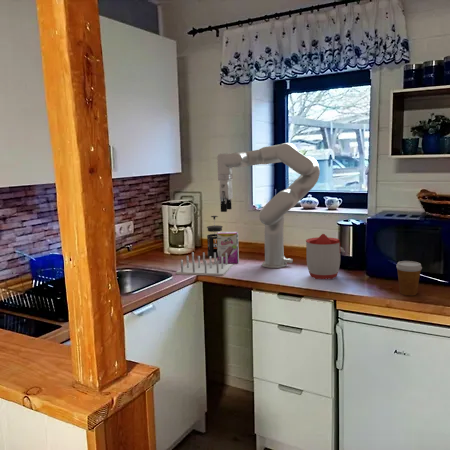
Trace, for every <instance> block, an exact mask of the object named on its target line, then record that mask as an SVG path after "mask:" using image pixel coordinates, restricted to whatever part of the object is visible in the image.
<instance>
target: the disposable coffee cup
mask: <svg viewBox="0 0 450 450" xmlns="http://www.w3.org/2000/svg"><path fill="white" fill-rule="evenodd" d="M396 269H397V280H398V285H399V286H398V287H399V293H400V294H401V295H404V296H415V295H417V294H418V288H419V283H420V277H421V272H422V269H423V267H422V264H421V263H420V262H417V261H412V260H411V261H410V260H402V261H398V262H397V264H396Z"/></svg>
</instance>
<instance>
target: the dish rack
mask: <svg viewBox="0 0 450 450" xmlns="http://www.w3.org/2000/svg"><path fill="white" fill-rule="evenodd" d="M208 258H209V259H208V261H209V263H208V262H207V260H206V253H205V252H202V261H203V262H202V263H201V256H200V255H197V262H195V253H194V252H193V251H192V252H191V262H189V260H190V259H189V255H186V264H185V265H184V263H183V262H184V260H183V259H180V268H179V269H178V270H176V271H175V275H191V276H213V277H214V276H216V277H217V276H218V277H224V276H225V275H226V274H227V273H228V272H229V271H230V269H232V268H233V266H234V264H228V262H227V253H225V260H226V264H223V257H221V264H219V262H218V261H217V258H216V253H214V258H213V260H214V261H213V262H214V263H212V258H211V256H209V257H208Z"/></svg>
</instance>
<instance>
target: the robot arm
mask: <svg viewBox="0 0 450 450" xmlns="http://www.w3.org/2000/svg"><path fill="white" fill-rule="evenodd" d="M216 159H217V162H216V163H217V181H218V182H219V200H220V204H219V205H220V212H221V213H227V212H228V210H232V208H233V207H232V200H233V197H234V192H233V180H234V179H233V168H236V169H237V168H245V167H251V166H256V165H258V166H259V165H270V164H276V163H283V164H284V165H286V166H287V167H289V168H290V169H291V170H292V171H294V172H296V173H297V174H298V175H299V177H297V178H296V179H295V180H294V181H293V182H292V183H291V184H290V185H289V186H288V187H286V188H285V189H283V190H280V191H279V192H278V193H277V194H275V195H273V197H272V198H271V199H270V200H269V201H268V202H267V203H266V204H264V206H263V207H262V208H261V209H260V211H259V214H258V218H259V220H260V221H259V222H260V223H262V224H263V225H264V229H263V230H264V232H263V233H264V261H263V262H262V263H261V266H262V267H264V268H267V269H281V268H286V267H287V265H288V264H291V263H293V258H287V257H286V255H284V254H285V253H284V252H285V251H284V250H285V249H284V245H285V243H284V223H285V214H287V212H289V211H290V210H291V209H293V208H294V207H295V206H296V205H297V204H298V203H299V202H300V201H301V200H302V199H303V198H304V197H305V196H306V195H307V194H308V193H309V192H310V191H311V190H312V189H313V188H314V187H315V186H316V184H317V183H318V180H319V179H320V173H321V172H320V171H321V170H320V165H319V163H318V161H317V159H315V157H312V156H306V155H304V154H303V153H301V152H300V151H299V150H298V148H297V147H296V145H295V144H293V143H290V142H284V143H280V144H275V145H269V146H268V145H267V146H263V147H261V148H259V149H256V150H255V149H254V150H249V151H242V152H241V151H240V152H239V151H238V152H232V153H231V152H230V153H228V152H225V153H224V152H222V153H218V154H217V156H216Z"/></svg>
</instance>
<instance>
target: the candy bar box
mask: <svg viewBox="0 0 450 450" xmlns="http://www.w3.org/2000/svg"><path fill="white" fill-rule="evenodd" d="M216 234H217V236H216V237H217V239H216V244H217V247H216V249H217V258H216V261H218V262H219V264H221V257H223V264H226V260H225V253H227V262H228V264H233V265H234V264H239V261H240V258H239V257H240V255H239V252H240V250H239V231H218V232H216Z"/></svg>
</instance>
